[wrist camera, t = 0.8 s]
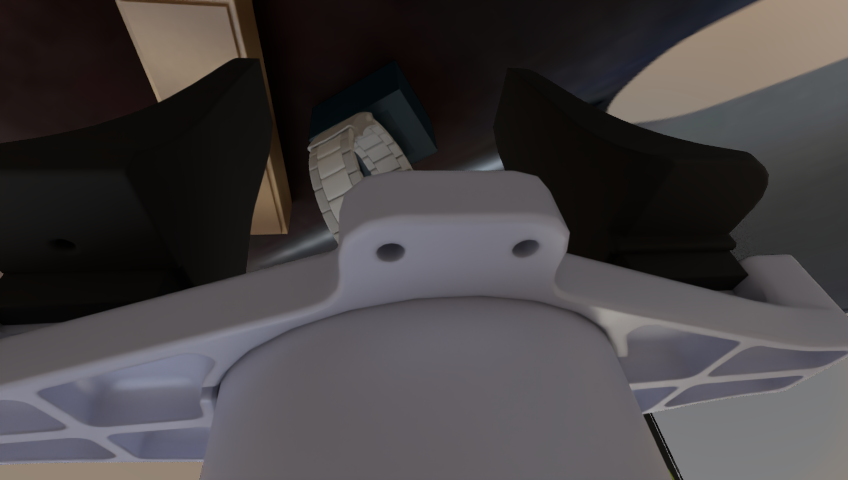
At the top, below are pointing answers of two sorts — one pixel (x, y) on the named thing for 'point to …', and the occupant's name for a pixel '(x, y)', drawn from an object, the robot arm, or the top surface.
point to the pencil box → (207, 71)
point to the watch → (365, 136)
